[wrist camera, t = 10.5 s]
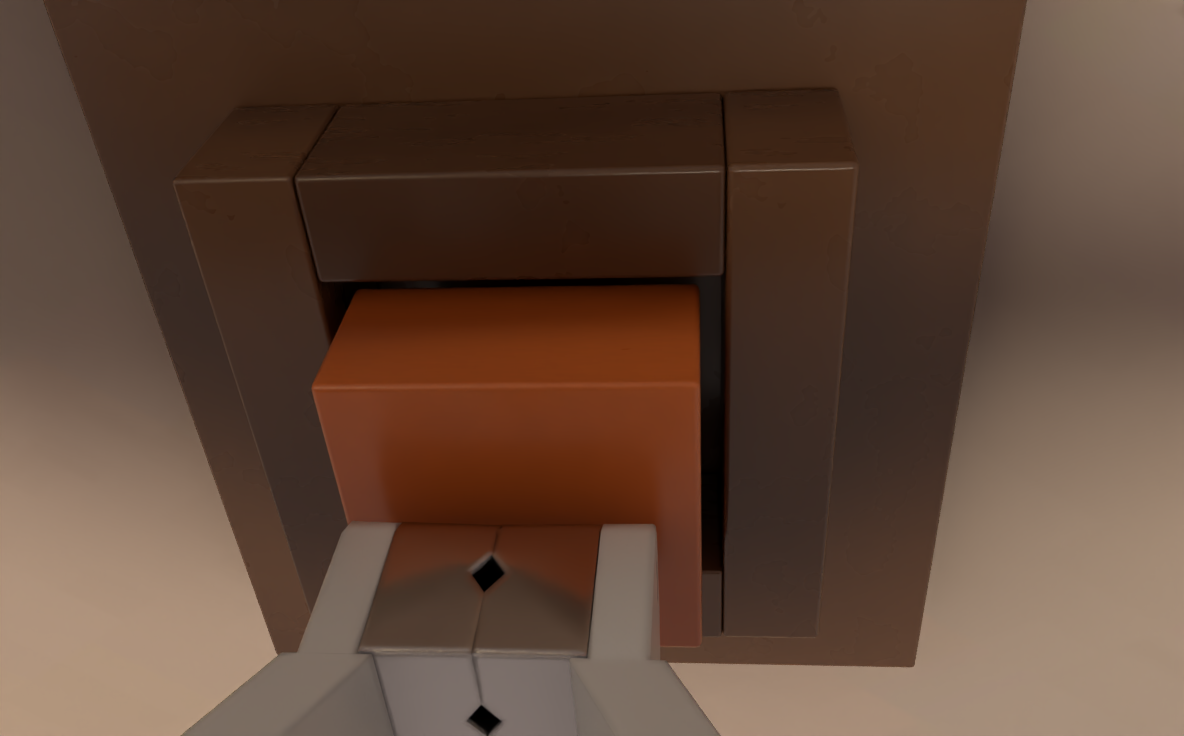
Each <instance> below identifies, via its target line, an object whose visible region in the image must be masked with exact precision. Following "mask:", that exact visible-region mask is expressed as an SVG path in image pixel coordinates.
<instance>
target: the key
mask: <svg viewBox="0 0 1184 736" xmlns="http://www.w3.org/2000/svg"><path fill="white" fill-rule="evenodd" d="M311 389H312V394H313V397H314V401H315V405H316V408H317V412H318V416H319V420H320V423H321V427H322V431H323V434H324V438H325V442H326V445H327V449H328V453H329V457H330V460H331V464H332V468H333V471H334V475H335V479H336V482H337V486H338V490H339V494H340V497H341V501H342V505H343V508H344V512H345V516H346V519H347V523H348V525H349V524H350V523H351V522H352V521H365V522H391V523H402V522H426V523H456V524H486V525H502V524H654V525H655V526H656V532H657V552H658V582H659V615H660V647H693V648H696V647H700V645H701V643H702V529H701V389H700V290H699V288H698V286H697V285H695V284H653V285H586V286H519V287H452V288H385V289H359V290H357V291H356V292H355V294H354V296H353V298H352V300H351V303H350V305H349V307H348V309H347V311H346V313H345V315H344V318H343V320H342V322H341V324H340V326H339V328H338V330H337V333H336V335H335V337H334V339H333V341H332V343H331V345H330V347H329V350H328V352H327V354H326V356H325V358H324V360H323V362H322V365H321V367H320V369H319V371H318V373H317V375H316V377H315V380H314V382H313V384H312V388H311Z"/></svg>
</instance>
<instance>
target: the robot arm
mask: <svg viewBox="0 0 1184 736" xmlns="http://www.w3.org/2000/svg"><path fill="white" fill-rule="evenodd" d="M181 736H720V734H719V733H718V732H717V730H716V729H715V727H714V726H713V725H712V723H711V722H710V720H709V719H708V718H707V716H706V715H705V714H704V712H703V711H702V709H701V708H700V707H699V705H698V704H697V703H696V701H695V700H694V698H693V697H692V696H691V694H690V693H689V691H688V690H687V689H686V687H685V686H684V685H683V683H682V682H681V680H680V679H679V678H678V676H677V675H676V673H675V672H674V671H673V669H672V668H671V667H670V665H669V664H668V662H667V661H666V660H660V615H659V582H658V552H657V532H656V526H655V525H654V524H502V525H486V524H456V523H426V522H402V523H391V522H365V521H352V522H351V523H350V524H349V525H348V526H347V527H346V528H345V530H344V531H343V532H342V533H341V536H340V539H339V541H338V544H337V547H336V549H335V552H334V555H333V557H332V560H331V563H330V565H329V568H328V571H327V573H326V576H325V579H324V581H323V584H322V587H321V589H320V592H319V595H318V598H317V600H316V603H315V606H314V608H313V611H312V614H311V616H310V619H309V622H308V624H307V627H306V630H305V632H304V635H303V638H302V640H301V643H300V646H299V648H298V651H297V652H282V653H280V654H279V655H278V656H277V657H276V658H274V659H273V660H272V661H271V662H270V663H268V664H267V665H266V666H265V667H263V668H262V669H261V670H260V671H259V672H257V673H256V674H255V675H254V676H252V677H251V678H250V679H249V680H248V681H246V682H245V683H244V684H243V685H242V686H240V687H239V688H238V689H237V690H235V691H234V692H233V693H232V694H231V695H229V696H228V697H227V698H226V699H225V700H223V701H222V702H221V703H220V704H218V705H217V706H216V707H215V708H214V709H212V710H211V711H210V712H209V713H207V714H206V715H205V716H204V717H203V718H201V719H200V720H199V721H198V722H197V723H195V724H194V725H193V726H192V727H190V728H189V729H188V730H187V731H186V732H184V733H183V734H182V735H181Z"/></svg>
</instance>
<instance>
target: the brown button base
mask: <svg viewBox="0 0 1184 736" xmlns="http://www.w3.org/2000/svg"><path fill="white" fill-rule="evenodd" d="M43 1H44V4H45V7H46V10H47V13H48V15H49V18H50V21H51V24H52V27H53V29H54V32H55V35H56V38H57V41H58V43H59V46H60V49H61V52H62V55H63V57H64V60H65V63H66V66H67V69H68V71H69V74H70V77H71V80H72V83H73V85H74V88H75V91H76V94H77V97H78V99H79V102H80V105H81V108H82V111H83V113H84V116H85V119H86V122H87V124H88V127H89V130H90V133H91V136H92V138H93V141H94V144H95V147H96V150H97V152H98V155H99V158H100V161H101V164H102V166H103V169H104V172H105V175H106V178H107V180H108V183H109V186H110V189H111V192H112V194H113V197H114V200H115V203H116V206H117V208H118V211H119V214H120V217H121V220H122V222H123V225H124V228H125V231H126V234H127V236H128V239H129V242H130V245H131V247H132V250H133V253H134V256H135V259H136V261H137V264H138V267H139V270H140V273H141V275H142V278H143V281H144V284H145V287H146V289H147V292H148V295H149V298H150V301H151V303H152V306H153V309H154V312H155V315H156V317H157V320H158V323H159V326H160V329H161V331H162V334H163V337H164V340H165V343H166V345H167V348H168V351H169V354H170V357H171V359H172V362H173V365H174V368H175V371H176V373H177V376H178V379H179V382H180V384H181V387H182V390H183V393H184V396H185V398H186V401H187V404H188V407H189V410H190V412H191V415H192V418H193V421H194V424H195V426H196V429H197V432H198V435H199V438H200V440H201V443H202V446H203V449H204V452H205V454H206V457H207V460H208V463H209V466H210V468H211V471H212V474H213V477H214V480H215V482H216V485H217V488H218V491H219V494H220V496H221V499H222V502H223V505H224V508H225V510H226V513H227V516H228V519H229V521H230V524H231V527H232V530H233V533H234V535H235V538H236V541H237V544H238V547H239V549H240V552H241V555H242V558H243V561H244V563H245V566H246V569H247V572H248V575H249V577H250V580H251V583H252V586H253V589H254V591H255V594H256V597H257V600H258V603H259V605H260V608H261V611H262V614H263V617H264V619H265V622H266V625H267V628H268V631H269V633H270V636H271V639H272V642H273V644H274V647H275V650H276V653H277V654H278V655H279V654H280V653H282V652H297V651H298V648H299V646H300V643H301V640H302V638H303V635H304V632H305V630H306V627H307V624H308V622H309V619H310V616H311V614H312V611H313V608H314V606H315V603H316V600H317V598H318V595H319V592H320V589H321V587H322V584H323V581H324V579H325V576H326V573H327V571H328V568H329V565H330V563H331V560H332V557H333V555H334V552H335V549H336V547H337V544H338V541H339V539H340V536H341V533H342V532H343V531H344V530H345V528H346V527H347V526H348V523H347V519H346V516H345V512H344V508H343V505H342V501H341V497H340V494H339V490H338V486H337V482H336V479H335V475H334V471H333V468H332V464H331V460H330V457H329V453H328V449H327V445H326V442H325V438H324V434H323V431H322V427H321V423H320V420H319V416H318V412H317V408H316V405H315V401H314V397H313V394H312V389H311V388H312V384H313V382H314V380H315V377H316V375H317V373H318V371H319V369H320V367H321V365H322V362H323V360H324V358H325V356H326V354H327V352H328V350H329V347H330V345H331V343H332V341H333V339H334V337H335V335H336V333H337V330H338V328H339V326H340V324H341V322H342V320H343V318H344V315H345V313H346V311H347V309H348V307H349V305H350V303H351V300H352V298H353V296H354V294H355V292H356V291H357V290H359V289H385V288H452V287H519V286H586V285H653V284H695V285H697V286H698V288H699V290H700V389H701V529H702V643H701V645H700V647H696V648H693V647H660V660H666V661H667V662H668V663H719V664H771V665H823V666H875V667H913V666H914V665H915V659H916V653H917V647H918V641H919V636H920V630H921V624H922V618H923V612H924V606H925V600H926V594H927V588H928V582H929V576H930V570H931V565H932V559H933V553H934V547H935V541H936V535H937V529H938V523H939V517H940V511H941V505H942V500H943V494H944V488H945V482H946V476H947V470H948V464H949V458H950V452H951V446H952V440H953V434H954V429H955V423H956V417H957V411H958V405H959V399H960V393H961V387H962V381H963V375H964V369H965V364H966V358H967V352H968V346H969V340H970V334H971V328H972V322H973V316H974V310H975V304H976V298H977V293H978V287H979V281H980V275H981V269H982V263H983V257H984V251H985V245H986V239H987V233H988V228H989V222H990V216H991V210H992V204H993V198H994V192H995V186H996V180H997V174H998V168H999V162H1000V157H1001V151H1002V145H1003V139H1004V133H1005V127H1006V121H1007V115H1008V109H1009V103H1010V97H1011V92H1012V86H1013V80H1014V74H1015V68H1016V62H1017V56H1018V50H1019V44H1020V38H1021V32H1022V26H1023V21H1024V15H1025V9H1026V3H1027V0H43Z"/></svg>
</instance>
